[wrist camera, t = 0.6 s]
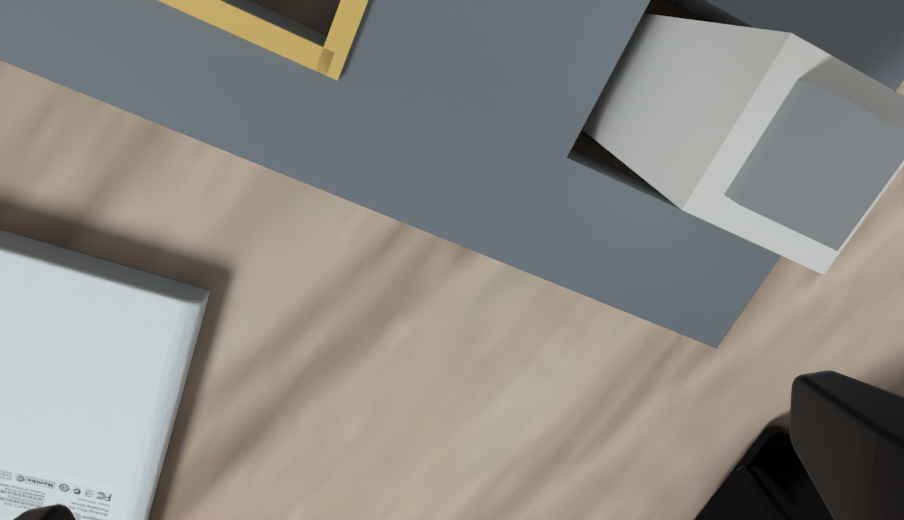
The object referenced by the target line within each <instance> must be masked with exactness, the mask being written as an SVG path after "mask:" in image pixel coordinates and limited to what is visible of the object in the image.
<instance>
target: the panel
mask: <svg viewBox="0 0 904 520" xmlns="http://www.w3.org/2000/svg"><path fill="white" fill-rule="evenodd" d="M672 1H674V2H675V3H677V4H679V5H681V6H683V7H684V8H686V9H688V10H690V11H692V12H694V13H695V14H697V15H699V16H701V17H703V18H705V19H706V20H708V21H710V22H713V23H721V24H728V25H736V26H743V27H751V28H758V29H766V30H773V31H781V32H788V33H793V34H794V35H796V36H798V37H800V38H801V39H803V40H805V41H807V42H809V43H810V44H812V45H814V46H816V47H817V48H819V49H821V50H823V51H825V52H826V53H828V54H830V55H832V56H833V57H835V58H837V59H839V60H841V61H842V62H844V63H846V64H848V65H849V66H851V67H853V68H855V69H857V70H858V71H860V72H862V73H864V74H865V75H867V76H869V77H871V78H873V79H874V80H876V81H878V82H880V83H881V84H883V85H885V86H887V87H888V88H890V89H892V90H894V91H896V90H897V89H898V87H899V86H900V84H901V83H902V81H903V80H904V0H672ZM649 2H650V0H341V1H340V3H339V6H338V9H337V12H336V14H335V17H334V20H333V22H332V25H331V28H330V31H329V33H328V36H327V35H325V34H322V33H320V32H318V31H316V30H314V29H312V28H309V27H307V26H305V25H303V24H301V23H299V22H296V21H294V20H292V19H290V18H288V17H286V16H283V15H281V14H279V13H277V12H275V11H273V10H270V9H268V8H266V7H264V6H262V5H260V4H257V3H255V2H253V1H251V0H0V60H1V61H3V62H6V63H8V64H11V65H13V66H16V67H18V68H21V69H23V70H26V71H28V72H31V73H33V74H36V75H38V76H41V77H43V78H46V79H48V80H51V81H53V82H56V83H58V84H61V85H63V86H66V87H68V88H71V89H73V90H76V91H78V92H81V93H83V94H85V95H88V96H90V97H93V98H95V99H98V100H100V101H103V102H105V103H108V104H110V105H113V106H115V107H118V108H120V109H123V110H125V111H128V112H130V113H133V114H135V115H138V116H140V117H143V118H145V119H148V120H150V121H153V122H155V123H158V124H160V125H163V126H165V127H168V128H170V129H172V130H175V131H177V132H180V133H182V134H185V135H187V136H190V137H192V138H195V139H197V140H200V141H202V142H205V143H207V144H210V145H212V146H215V147H217V148H220V149H222V150H225V151H227V152H230V153H232V154H235V155H237V156H240V157H242V158H245V159H247V160H250V161H252V162H255V163H257V164H259V165H262V166H264V167H267V168H269V169H272V170H274V171H277V172H279V173H282V174H284V175H287V176H289V177H292V178H294V179H297V180H299V181H302V182H304V183H307V184H309V185H312V186H314V187H317V188H319V189H322V190H324V191H327V192H329V193H332V194H334V195H337V196H339V197H342V198H344V199H346V200H349V201H351V202H354V203H356V204H359V205H361V206H364V207H366V208H369V209H371V210H374V211H376V212H379V213H381V214H384V215H386V216H389V217H391V218H394V219H396V220H399V221H401V222H404V223H406V224H409V225H411V226H414V227H416V228H419V229H421V230H424V231H426V232H429V233H431V234H433V235H436V236H438V237H441V238H443V239H446V240H448V241H451V242H453V243H456V244H458V245H461V246H463V247H466V248H468V249H471V250H473V251H476V252H478V253H481V254H483V255H486V256H488V257H491V258H493V259H496V260H498V261H501V262H503V263H506V264H508V265H511V266H513V267H516V268H518V269H520V270H523V271H525V272H528V273H530V274H533V275H535V276H538V277H540V278H543V279H545V280H548V281H550V282H553V283H555V284H558V285H560V286H563V287H565V288H568V289H570V290H573V291H575V292H578V293H580V294H583V295H585V296H588V297H590V298H593V299H595V300H598V301H600V302H603V303H605V304H607V305H610V306H612V307H615V308H617V309H620V310H622V311H625V312H627V313H630V314H632V315H635V316H637V317H640V318H642V319H645V320H647V321H650V322H652V323H655V324H657V325H660V326H662V327H665V328H667V329H670V330H672V331H675V332H677V333H680V334H682V335H685V336H687V337H690V338H692V339H694V340H697V341H699V342H702V343H704V344H707V345H709V346H712V347H714V348H717V347H718V346H719V344H720V343H721V342H722V340H723V339H724V337H725V336H726V334H727V333H728V331H729V330H730V329H731V327H732V326H733V324H734V323H735V321H736V320H737V319H738V317H739V316H740V314H741V313H742V311H743V310H744V308H745V307H746V306H747V304H748V303H749V301H750V300H751V298H752V297H753V296H754V294H755V293H756V291H757V290H758V288H759V287H760V285H761V284H762V283H763V281H764V280H765V278H766V277H767V275H768V274H769V273H770V271H771V270H772V268H773V267H774V265H775V264H776V262H777V261H778V260H779V258H780V257H781V255H779V254H777V253H775V252H773V251H770V250H768V249H766V248H764V247H762V246H759V245H757V244H755V243H753V242H751V241H748V240H746V239H744V238H742V237H740V236H738V235H735V234H733V233H731V232H729V231H727V230H724V229H722V228H720V227H718V226H716V225H713V224H711V223H709V222H707V221H705V220H703V219H700V218H698V217H696V216H694V215H692V214H689V213H687V212H685V211H683V210H681V209H680V208H679V207H677V206H676V205H675V204H674V203H673V202H671V201H670V200H669V199H668V198H666V197H665V196H664V195H663V194H661V193H660V192H659V191H658V190H656V189H655V188H654V187H653V186H651V185H649V184H647V183H645V182H643V181H641V180H639V179H636V178H634V177H632V176H630V175H628V174H626V173H623V172H621V171H619V170H617V169H615V168H613V167H610V166H608V165H606V164H604V163H602V162H600V161H597V160H595V159H593V158H591V157H589V156H587V155H584V154H582V153H580V152H578V151H576V150H574V149H571V148H572V147H573V145H574V143H575V141H576V139H577V137H578V135H579V133H580V132H581V130H582V128H583V126H584V124H585V122H586V120H587V118H588V117H589V115H590V113H591V111H592V109H593V107H594V105H595V103H596V101H597V100H598V98H599V96H600V94H601V92H602V90H603V88H604V86H605V85H606V83H607V81H608V79H609V77H610V75H611V73H612V71H613V70H614V68H615V66H616V64H617V62H618V60H619V58H620V56H621V55H622V53H623V51H624V49H625V47H626V45H627V43H628V41H629V40H630V38H631V36H632V34H633V32H634V30H635V28H636V26H637V25H638V23H639V21H640V19H641V17H642V15H643V13H644V11H645V10H646V8H647V6H648V4H649Z"/></svg>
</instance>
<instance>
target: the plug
mask: <svg viewBox="0 0 904 520" xmlns="http://www.w3.org/2000/svg"><path fill="white" fill-rule="evenodd" d="M582 130H583V131H585V132H586V133H587V134H588V135H589V136H591V137H592V138H593V139H594V140H596V141H597V142H598V143H599V144H601V145H602V146H603V147H604V148H606V149H607V150H608V151H609V152H611V153H612V154H613V155H614V156H616V157H617V158H618V159H619V160H620V161H622V162H623V163H624V164H625V165H627V166H628V167H629V168H630V169H632V170H633V171H634V172H635V173H637V174H638V175H639V176H640V177H642V178H643V179H644V180H645V181H646V182H648V183H649V184H650V185H651V186H653V187H654V188H655V189H656V190H658V191H659V192H660V193H661V194H663V195H664V196H665V197H666V198H668V199H669V200H670V201H671V202H673V203H674V204H675V205H676V206H677V207H679V208H680V209H681V210H683V211H685V212H687V213H689V214H692V215H694V216H696V217H698V218H700V219H703V220H705V221H707V222H709V223H711V224H713V225H716V226H718V227H720V228H722V229H724V230H727V231H729V232H731V233H733V234H735V235H738V236H740V237H742V238H744V239H746V240H748V241H751V242H753V243H755V244H757V245H759V246H762V247H764V248H766V249H768V250H770V251H773V252H775V253H777V254H779V255H781V256H783V257H786V258H788V259H790V260H792V261H794V262H797V263H799V264H801V265H803V266H805V267H807V268H810V269H812V270H814V271H816V272H818V273H821V274H823V275H824V274H825V272H826V271H827V270H828V268H829V267H830V266H831V264H832V263H833V261H834V260H835V259H836V257H837V256H838V255H839V253H840V252H841V250H842V249H843V248H844V246H845V245H846V244H847V242H848V241H849V240H850V238H851V237H852V235H853V234H854V233H855V231H856V230H857V229H858V227H859V226H860V224H861V223H862V222H863V220H864V219H865V218H866V216H867V215H868V214H869V212H870V211H871V209H872V208H873V207H874V205H875V204H876V203H877V201H878V200H879V198H880V197H881V196H882V194H883V193H884V192H885V190H886V189H887V188H888V186H889V185H890V183H891V182H892V181H893V179H894V178H895V177H896V175H897V174H898V172H899V171H900V170H901V168H902V167H903V166H904V96H903V95H901V94H899V93H897V92H896V91H894V90H892V89H890V88H888V87H887V86H885V85H883V84H881V83H880V82H878V81H876V80H874V79H873V78H871V77H869V76H867V75H865V74H864V73H862V72H860V71H858V70H857V69H855V68H853V67H851V66H849V65H848V64H846V63H844V62H842V61H841V60H839V59H837V58H835V57H833V56H832V55H830V54H828V53H826V52H825V51H823V50H821V49H819V48H817V47H816V46H814V45H812V44H810V43H809V42H807V41H805V40H803V39H801V38H800V37H798V36H796V35H794V34H793V33H788V32H781V31H773V30H766V29H758V28H751V27H743V26H736V25H728V24H721V23H713V22H706V21H698V20H691V19H683V18H676V17H668V16H661V15H653V14H645V13H643V15H642V17H641V19H640V21H639V23H638V25H637V26H636V28H635V30H634V32H633V34H632V36H631V38H630V40H629V41H628V43H627V45H626V47H625V49H624V51H623V53H622V55H621V56H620V58H619V60H618V62H617V64H616V66H615V68H614V70H613V71H612V73H611V75H610V77H609V79H608V81H607V83H606V85H605V86H604V88H603V90H602V92H601V94H600V96H599V98H598V100H597V101H596V103H595V105H594V107H593V109H592V111H591V113H590V115H589V117H588V118H587V120H586V122H585V124H584V126H583V128H582Z"/></svg>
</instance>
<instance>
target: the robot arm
mask: <svg viewBox="0 0 904 520" xmlns="http://www.w3.org/2000/svg"><path fill="white" fill-rule="evenodd" d="M776 438H777V439H776ZM774 439H776V440H774ZM773 440H774V441H773ZM13 520H76V519H75V517H74V515H73V513H72V512H71V510H70V509H69V508H68V507H66V506H65V505H61V504H56V505H50V506H44V507H38V508H33V509H30V510H27V511H25V512H23V513H22V514H20V515H19V516H18V517H16V518H15V519H13ZM696 520H904V397H902V396H899V395H897V394H894V393H891V392H888V391H886V390H883V389H880V388H878V387H875V386H872V385H869V384H867V383H864V382H861V381H859V380H856V379H853V378H850V377H848V376H845V375H842V374H840V373H837V372H834V371H820V372H815V373H809V374H803V375H799V376H798V377H796V378H795V379H794V381H793V384H792V392H791V410H790V430H789V429H786V428H784V427H781V426H771V427H769V428H767V429H766V430H764V431H763V432H762V434H761V435H760V436H759V438H758V439H757V440H756V442H755V443H754V444H753V445H752V447H751V448H750V449H749V451H748V452H747V453H746V455H745V456H744V457H743V459H742V460H741V461H740V462H739V464H738V465H737V466H736V468H735V469H734V470H733V472H732V473H731V474H730V475H729V477H728V478H727V479H726V481H725V482H724V483H723V485H722V486H721V487H720V489H719V490H718V491H717V492H716V494H715V495H714V496H713V498H712V499H711V500H710V502H709V503H708V504H707V505H706V507H705V508H704V509H703V511H702V512H701V513H700V515H699V516H698V517H697V519H696Z"/></svg>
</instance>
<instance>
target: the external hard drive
mask: <svg viewBox="0 0 904 520" xmlns="http://www.w3.org/2000/svg"><path fill="white" fill-rule="evenodd" d="M209 294H210V291H209V290H206V289H203V288H200V287H196V286H193V285H189V284H186V283H182V282H179V281H175V280H172V279H168V278H165V277H161V276H158V275H155V274H151V273H148V272H144V271H141V270H137V269H134V268H131V267H127V266H124V265H120V264H117V263H113V262H110V261H107V260H103V259H100V258H96V257H93V256H89V255H86V254H82V253H79V252H76V251H72V250H69V249H65V248H62V247H58V246H55V245H52V244H48V243H45V242H41V241H38V240H34V239H31V238H28V237H24V236H21V235H17V234H14V233H10V232H7V231H4V230H0V520H13V519H15V518H16V517H18V516H19V515H20V514H22V513H23V512H25V511H27V510H30V509H33V508H38V507H44V506H50V505H56V504H61V505H65V506H66V507H68V508H69V509H70V510H71V512H72V513H73V515H74V517H75V519H76V520H148V517H149V513H150V510H151V506H152V502H153V499H154V495H155V491H156V488H157V484H158V480H159V477H160V474H161V470H162V466H163V463H164V459H165V456H166V452H167V448H168V445H169V441H170V437H171V433H172V430H173V426H174V422H175V419H176V415H177V411H178V408H179V404H180V400H181V397H182V393H183V389H184V386H185V382H186V378H187V375H188V371H189V367H190V364H191V360H192V356H193V353H194V349H195V345H196V342H197V338H198V334H199V331H200V327H201V323H202V319H203V316H204V312H205V308H206V305H207V301H208V297H209Z"/></svg>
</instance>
